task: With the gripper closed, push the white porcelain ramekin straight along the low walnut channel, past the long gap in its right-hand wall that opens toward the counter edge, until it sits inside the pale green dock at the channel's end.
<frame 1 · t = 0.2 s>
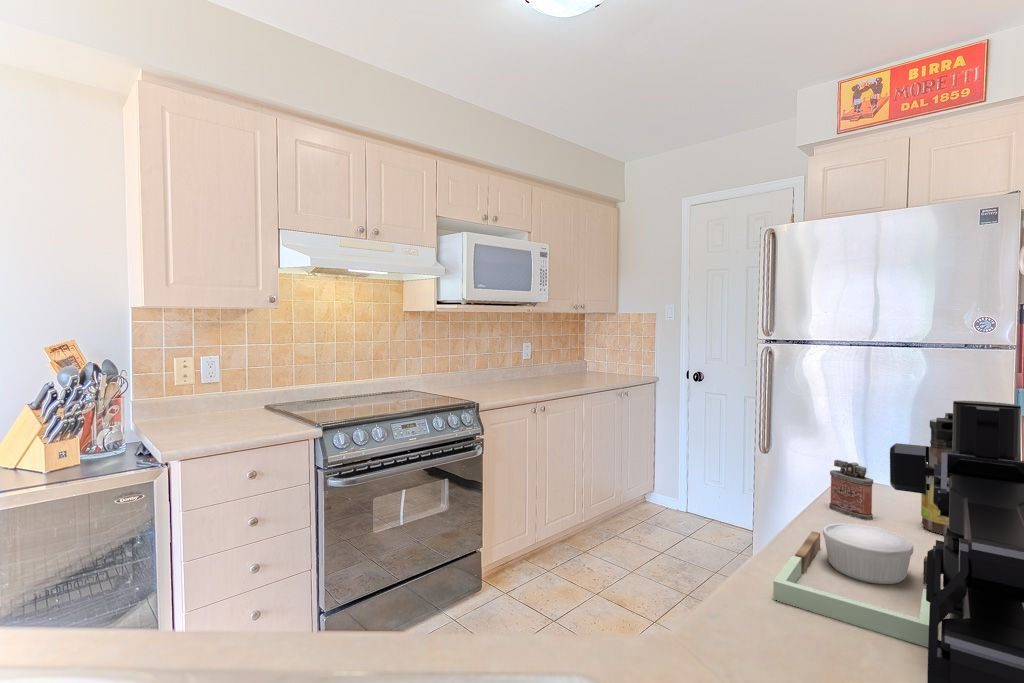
hand: (977, 465, 73), 17 cm above the countertop, tool horizontal, fingers open, 9 cm apart
ramekin: (865, 572, 78), on the countertop
lighter: (850, 514, 103), on the countertop
dock: (852, 604, 68), on the countertop
sauce bottle: (942, 531, 94), on the countertop
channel: (864, 573, 77), on the countertop
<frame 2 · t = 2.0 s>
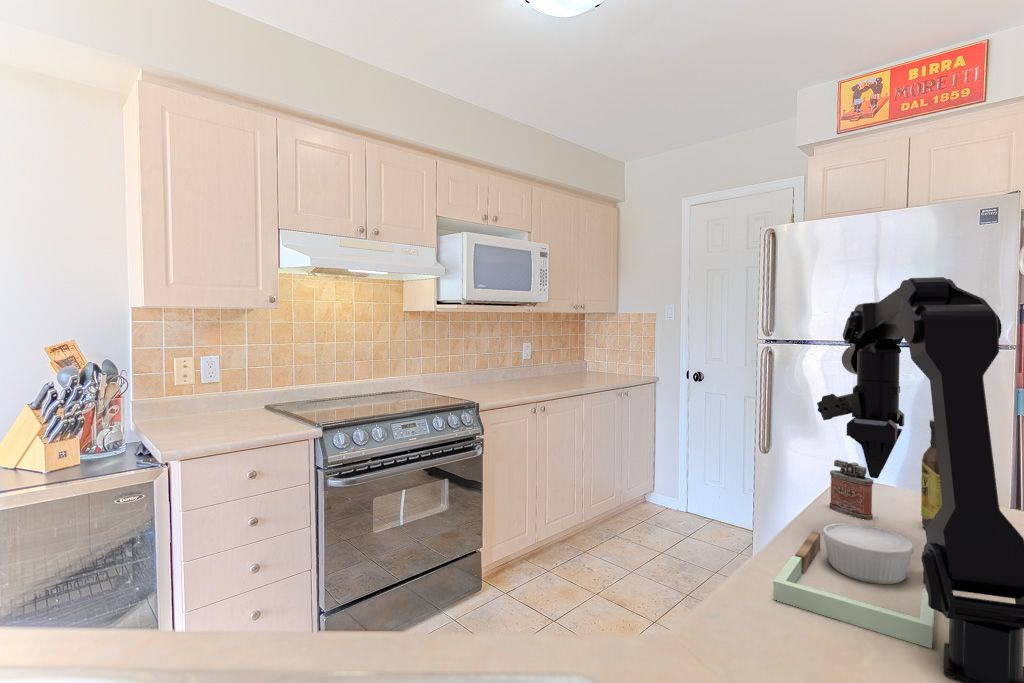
hand: (876, 473, 87), 12 cm above the countertop, tool pointing down, fingers open, 6 cm apart
nothing on the countertop moved.
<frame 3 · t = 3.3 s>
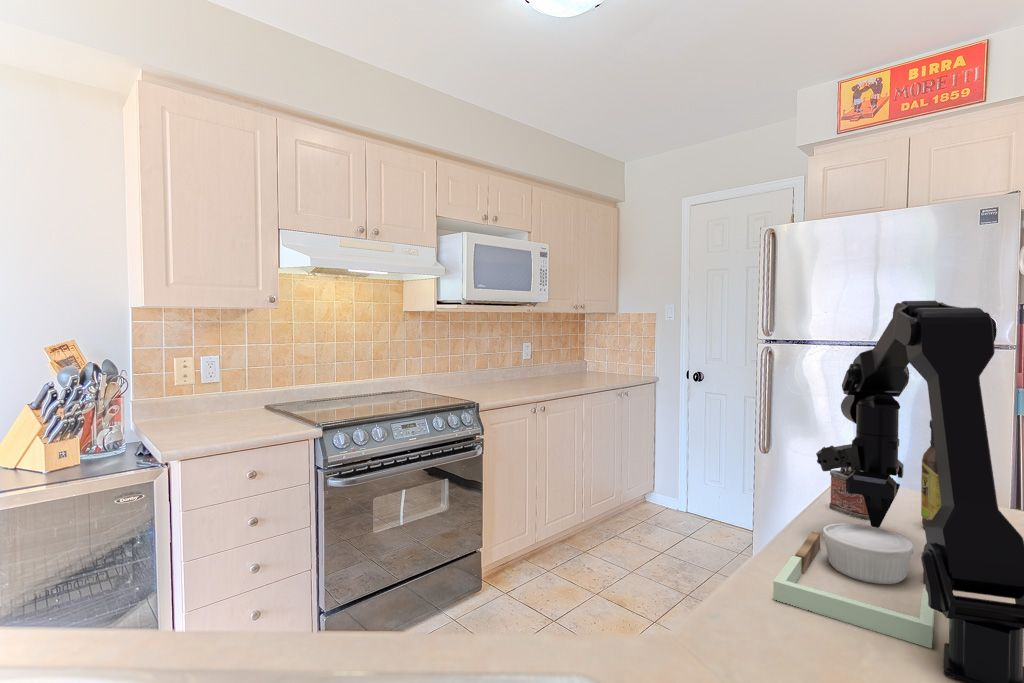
hand: (875, 526, 87), 3 cm above the countertop, tool pointing down, fingers closed
nothing on the countertop moved.
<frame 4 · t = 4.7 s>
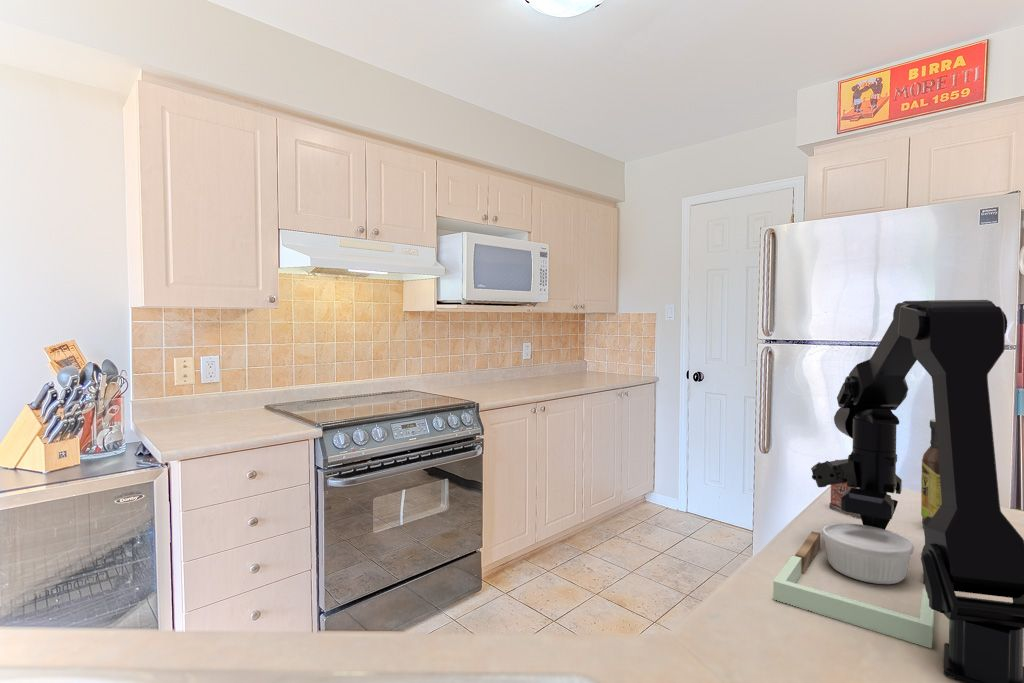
hand: (872, 545, 84), 1 cm above the countertop, tool pointing down, fingers closed
ramekin: (865, 572, 78), on the countertop, touching gripper
everything else where it was.
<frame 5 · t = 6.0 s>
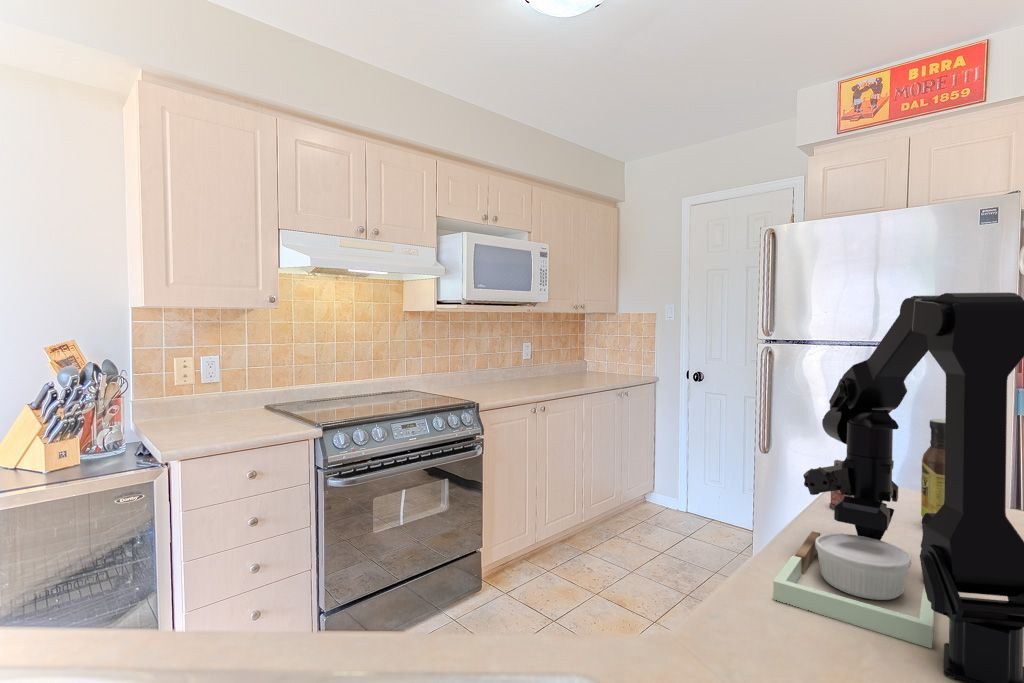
hand: (867, 555, 79), 2 cm above the countertop, tool pointing down, fingers closed
ramekin: (860, 586, 73), on the countertop, touching gripper
everything else where it was.
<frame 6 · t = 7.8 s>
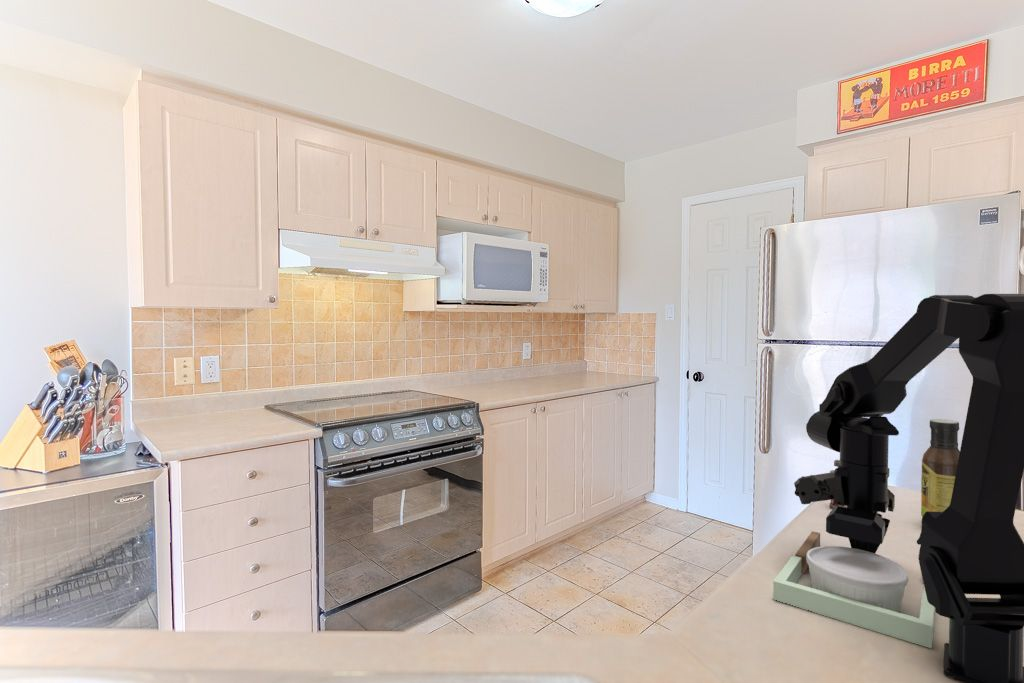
hand: (861, 569, 75), 2 cm above the countertop, tool pointing down, fingers closed
ramekin: (854, 603, 69), on the countertop, touching gripper
everything else where it was.
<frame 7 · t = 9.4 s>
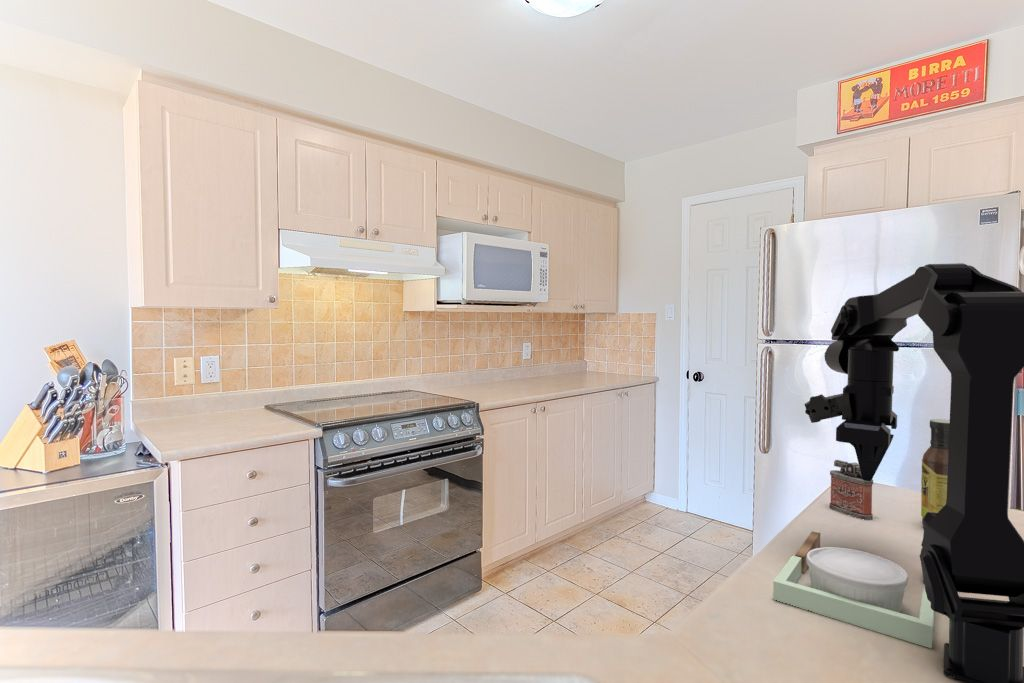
hand: (866, 480, 81), 13 cm above the countertop, tool pointing down, fingers closed
ramekin: (854, 604, 69), on the countertop
everything else where it was.
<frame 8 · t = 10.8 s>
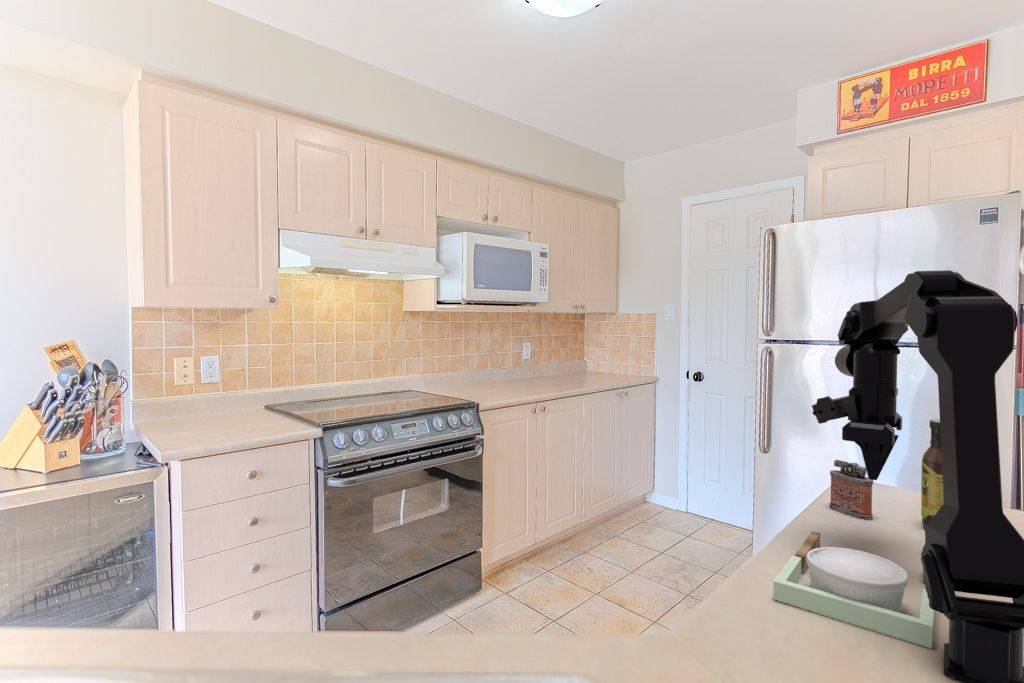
hand: (872, 479, 84), 12 cm above the countertop, tool pointing down, fingers closed
nothing on the countertop moved.
at the end: ramekin 0.9 cm from the dock (horizontally); ramekin inside the target area (0.2 cm from its centre), on the countertop; ramekin tilted 0° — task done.
